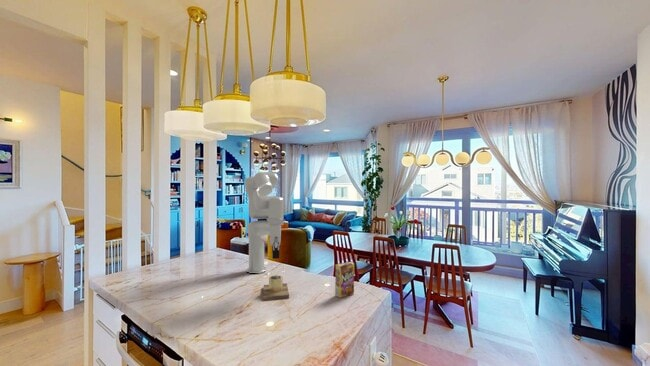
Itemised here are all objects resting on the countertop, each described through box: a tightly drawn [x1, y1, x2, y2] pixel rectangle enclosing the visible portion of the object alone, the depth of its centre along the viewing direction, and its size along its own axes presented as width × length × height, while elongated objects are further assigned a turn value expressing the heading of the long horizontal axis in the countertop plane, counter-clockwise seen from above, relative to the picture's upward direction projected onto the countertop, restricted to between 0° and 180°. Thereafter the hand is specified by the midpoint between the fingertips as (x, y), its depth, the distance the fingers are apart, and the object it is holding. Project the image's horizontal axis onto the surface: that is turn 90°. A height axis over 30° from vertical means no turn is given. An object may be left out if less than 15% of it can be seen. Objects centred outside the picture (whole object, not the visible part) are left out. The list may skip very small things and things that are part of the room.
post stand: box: [262, 275, 290, 301], centre depth 130 cm, size 16×12×8 cm
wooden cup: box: [268, 274, 284, 292], centre depth 130 cm, size 7×7×6 cm
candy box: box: [334, 261, 355, 299], centre depth 127 cm, size 9×4×15 cm, turn 123°
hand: (275, 255), depth 130 cm, fingers open, 9 cm apart
